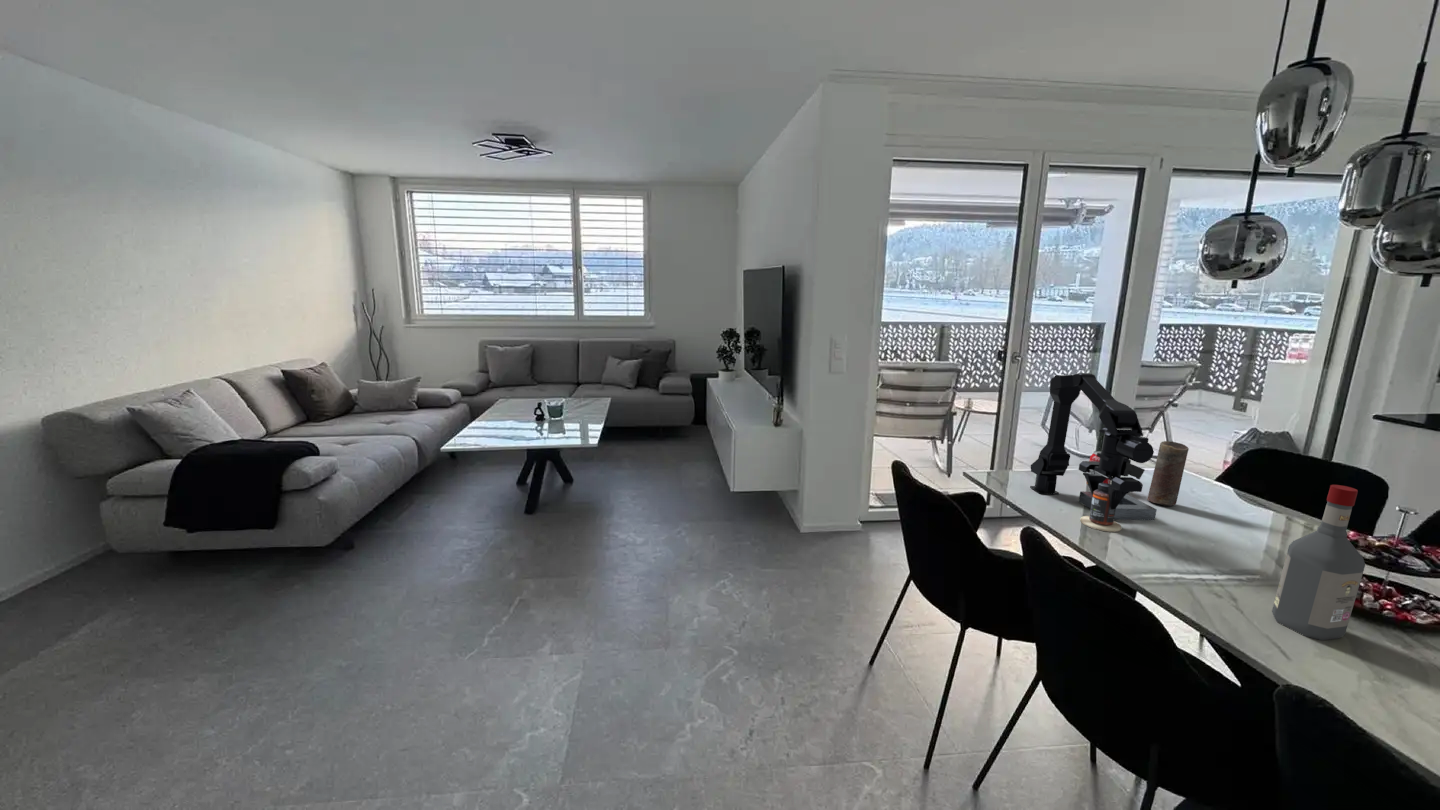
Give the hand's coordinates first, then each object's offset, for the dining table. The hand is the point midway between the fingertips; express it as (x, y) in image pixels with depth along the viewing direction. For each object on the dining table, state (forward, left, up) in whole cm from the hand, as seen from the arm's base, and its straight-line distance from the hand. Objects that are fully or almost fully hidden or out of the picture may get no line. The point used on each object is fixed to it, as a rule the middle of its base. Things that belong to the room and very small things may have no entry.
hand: (1103, 504), depth 164 cm
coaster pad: (0, 0, -6) cm, 6 cm away
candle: (-18, +32, -6) cm, 37 cm away
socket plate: (-11, +12, -6) cm, 17 cm away
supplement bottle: (0, 0, -6) cm, 6 cm away
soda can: (-33, +21, -6) cm, 40 cm away
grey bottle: (+50, +9, -6) cm, 51 cm away
